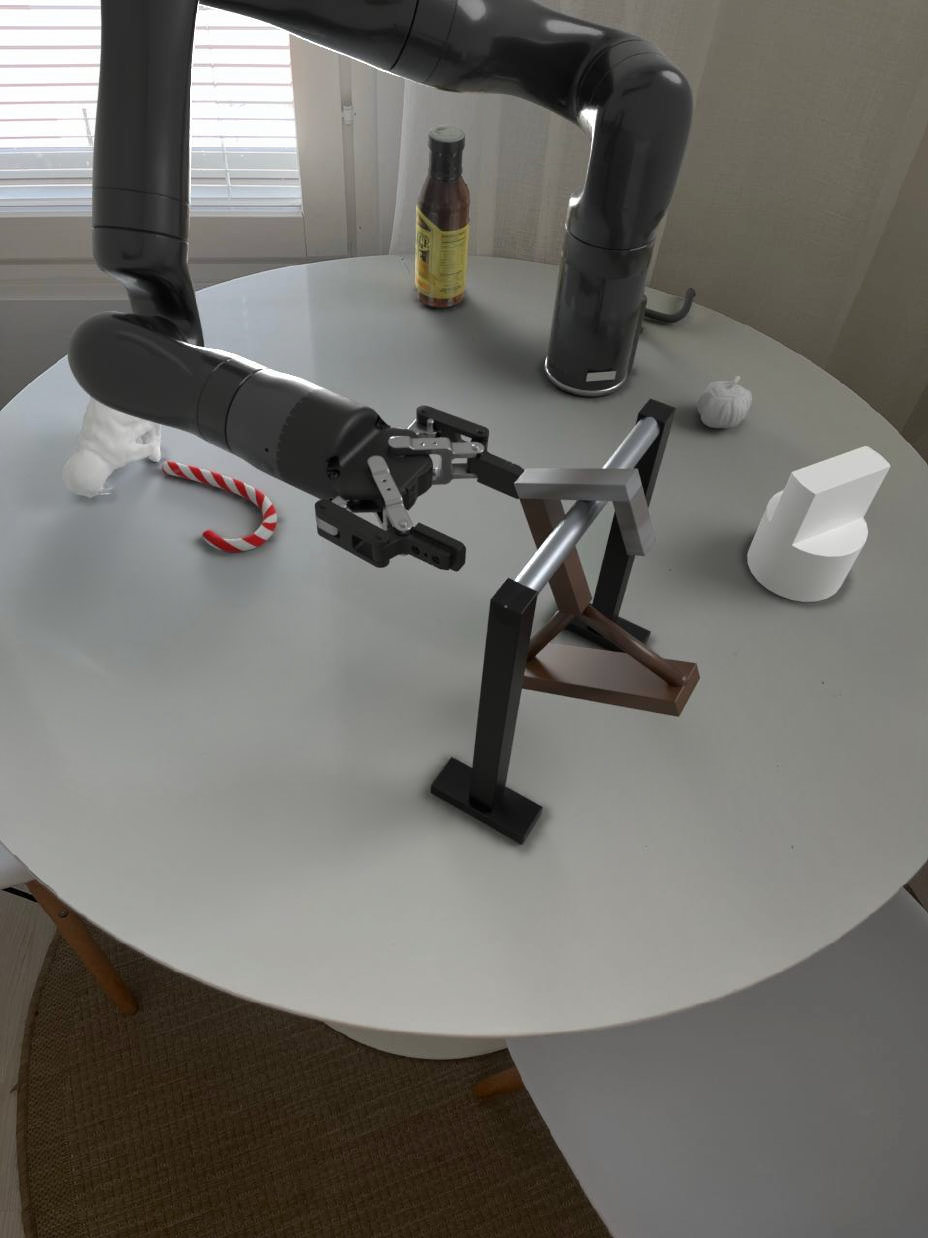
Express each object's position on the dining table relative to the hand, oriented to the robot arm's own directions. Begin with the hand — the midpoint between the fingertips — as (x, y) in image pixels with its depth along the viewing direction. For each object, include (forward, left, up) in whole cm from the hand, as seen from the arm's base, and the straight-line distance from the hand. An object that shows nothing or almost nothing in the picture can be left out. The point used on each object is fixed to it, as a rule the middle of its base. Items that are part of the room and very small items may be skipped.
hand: (495, 521), depth 62 cm
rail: (-2, +6, -18) cm, 19 cm away
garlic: (-43, -11, -18) cm, 48 cm away
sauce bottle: (-33, -48, -18) cm, 61 cm away
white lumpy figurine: (+13, -41, -18) cm, 47 cm away
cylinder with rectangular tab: (-32, +8, -18) cm, 38 cm away
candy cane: (+8, -31, -18) cm, 37 cm away
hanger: (-3, +10, -11) cm, 15 cm away
